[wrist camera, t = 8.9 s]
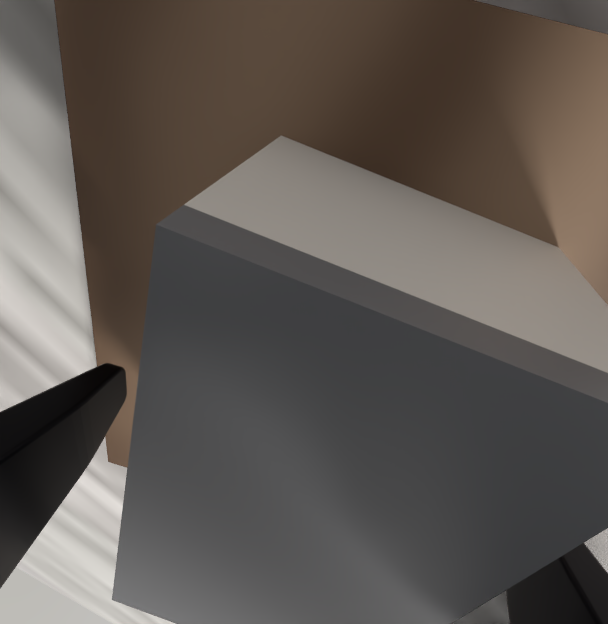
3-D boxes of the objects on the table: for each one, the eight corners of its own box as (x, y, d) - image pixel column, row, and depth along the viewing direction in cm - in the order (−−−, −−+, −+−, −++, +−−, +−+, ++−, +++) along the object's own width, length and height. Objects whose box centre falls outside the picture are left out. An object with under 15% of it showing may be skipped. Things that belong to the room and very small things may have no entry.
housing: (361, 496, 14) (347, 687, 10) (198, 433, 14) (112, 600, 9) (558, 247, 8) (730, 451, 4) (281, 135, 8) (155, 223, 4)
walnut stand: (778, 96, 8) (910, 111, 6) (449, 508, 17) (457, 570, 15) (126, -70, 9) (41, -110, 7) (141, 414, 18) (108, 461, 16)
